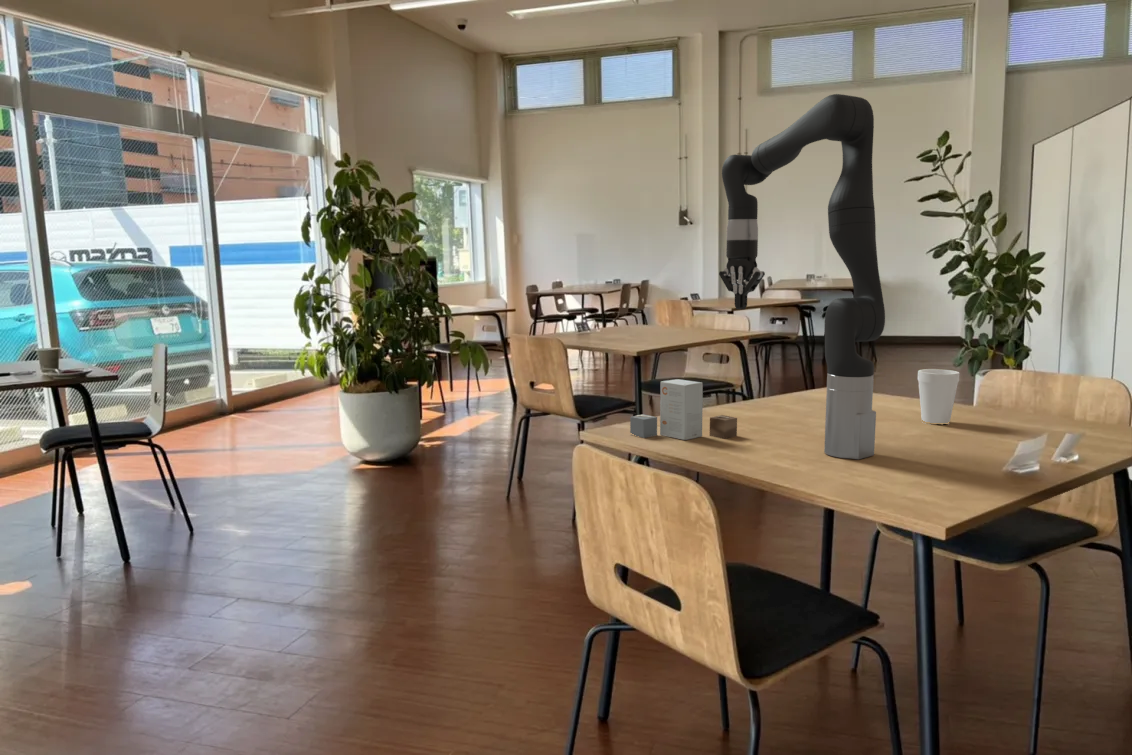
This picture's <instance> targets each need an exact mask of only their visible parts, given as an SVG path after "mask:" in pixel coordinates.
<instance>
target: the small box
mask: <svg viewBox="0 0 1132 755" xmlns="http://www.w3.org/2000/svg"><path fill="white" fill-rule="evenodd" d="M703 388H704V386H703V382H702V381H701V382H700V381H694V380H685V379H678V378H676V379H670V380H669V379H667V380H663V381H660V391H659V392H660V398H659V399H660V404H659V405H660V407H659V411H660V412H659V414H660V416H659V419H660V420H659V422H660V423H659V424H660V425H659V427H660V428H659V432H660V433H659V435H660V436H665V437H669V438H673V439H679V440H682V441H686V440H693V439H697V438H701V437H702V436H703V402H704V401H703V400H704V399H703V396H704V394H703V393H704V392H703V390H704V389H703Z"/></svg>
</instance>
